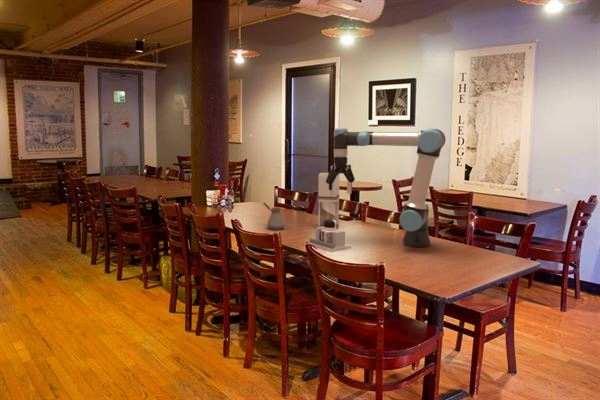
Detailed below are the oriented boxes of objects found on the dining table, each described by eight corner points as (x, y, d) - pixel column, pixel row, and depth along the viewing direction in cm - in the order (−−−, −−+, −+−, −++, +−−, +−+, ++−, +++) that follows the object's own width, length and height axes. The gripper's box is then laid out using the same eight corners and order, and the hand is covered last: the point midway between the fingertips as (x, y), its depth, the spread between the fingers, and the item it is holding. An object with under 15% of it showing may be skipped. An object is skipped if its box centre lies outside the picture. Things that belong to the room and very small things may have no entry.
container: (326, 245, 281) (326, 222, 279) (320, 242, 288) (321, 219, 286) (339, 244, 283) (339, 221, 281) (333, 241, 291) (334, 218, 289)
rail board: (351, 248, 283) (351, 230, 281) (331, 251, 274) (331, 234, 273) (328, 241, 298) (328, 225, 296) (308, 245, 289) (309, 228, 288)
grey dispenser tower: (317, 229, 332) (318, 174, 327) (321, 226, 342) (321, 172, 337) (335, 230, 329) (336, 174, 324) (338, 227, 340) (339, 173, 335)
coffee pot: (288, 229, 332) (288, 206, 329) (272, 231, 325) (272, 207, 323) (271, 224, 349) (271, 201, 347) (255, 225, 343) (255, 203, 341)
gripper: (351, 155, 301) (351, 192, 304) (319, 157, 285) (319, 196, 288) (361, 155, 295) (361, 193, 298) (328, 157, 279) (328, 197, 282)
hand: (340, 194), depth 293 cm, fingers open, 13 cm apart
